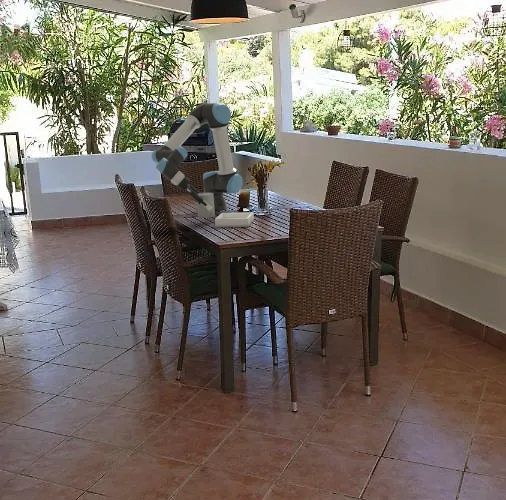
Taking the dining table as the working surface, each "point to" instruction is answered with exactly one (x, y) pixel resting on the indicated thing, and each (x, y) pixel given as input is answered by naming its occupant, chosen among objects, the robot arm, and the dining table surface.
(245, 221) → the white square tray
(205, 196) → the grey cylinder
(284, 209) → the dining table surface
